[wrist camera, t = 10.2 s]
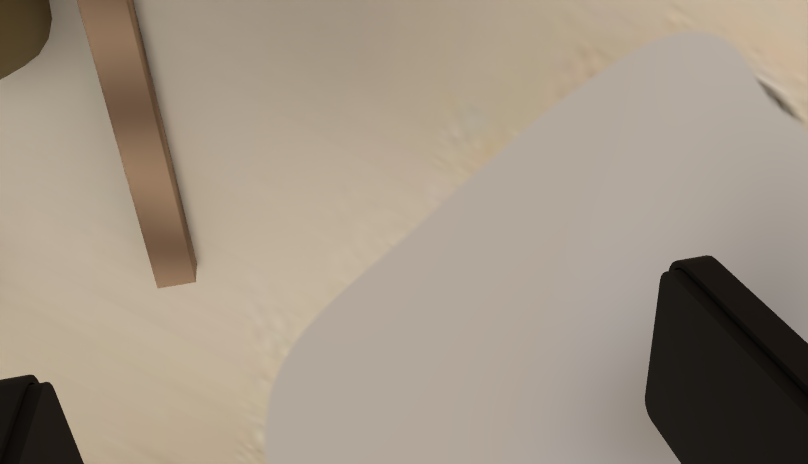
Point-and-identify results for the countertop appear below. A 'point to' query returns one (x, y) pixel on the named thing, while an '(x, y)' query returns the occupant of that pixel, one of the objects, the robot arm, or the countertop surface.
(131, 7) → the walnut track
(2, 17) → the cork
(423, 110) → the countertop surface
